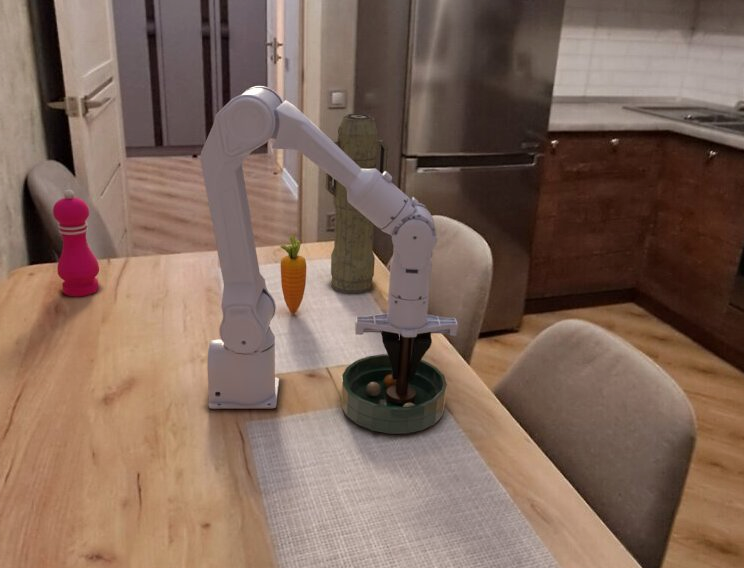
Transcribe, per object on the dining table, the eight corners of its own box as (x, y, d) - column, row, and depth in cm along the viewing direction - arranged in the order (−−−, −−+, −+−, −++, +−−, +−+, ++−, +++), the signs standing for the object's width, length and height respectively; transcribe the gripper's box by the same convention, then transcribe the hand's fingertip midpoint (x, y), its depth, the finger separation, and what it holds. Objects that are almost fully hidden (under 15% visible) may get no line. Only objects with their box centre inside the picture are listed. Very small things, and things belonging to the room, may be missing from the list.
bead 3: (402, 421, 94) (403, 408, 94) (400, 412, 96) (401, 399, 96) (417, 421, 95) (418, 408, 94) (415, 412, 97) (416, 399, 96)
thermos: (317, 280, 141) (320, 112, 128) (369, 274, 146) (377, 111, 132) (331, 297, 133) (336, 120, 120) (385, 290, 138) (396, 119, 125)
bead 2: (383, 391, 101) (384, 379, 100) (382, 383, 103) (383, 371, 102) (398, 391, 102) (399, 379, 101) (396, 383, 104) (397, 371, 103)
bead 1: (366, 399, 99) (366, 386, 98) (365, 391, 101) (366, 379, 100) (380, 399, 99) (381, 386, 98) (379, 391, 101) (380, 379, 100)
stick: (387, 404, 97) (393, 319, 92) (385, 388, 101) (391, 305, 96) (417, 404, 98) (424, 320, 93) (414, 388, 102) (421, 306, 97)
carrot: (301, 321, 123) (302, 244, 117) (275, 317, 124) (275, 240, 118) (310, 310, 127) (311, 235, 122) (285, 306, 128) (285, 232, 122)
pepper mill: (63, 284, 131) (49, 184, 123) (103, 282, 133) (92, 184, 126) (57, 299, 125) (42, 195, 117) (99, 296, 127) (87, 194, 119)
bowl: (342, 437, 91) (343, 409, 89) (340, 378, 105) (341, 353, 103) (451, 436, 93) (454, 408, 91) (435, 379, 107) (437, 354, 105)
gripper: (358, 302, 89) (354, 390, 94) (465, 304, 90) (455, 391, 95) (356, 282, 95) (352, 365, 100) (456, 284, 97) (447, 366, 102)
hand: (402, 376), depth 98 cm, fingers closed on stick, 2 cm apart
